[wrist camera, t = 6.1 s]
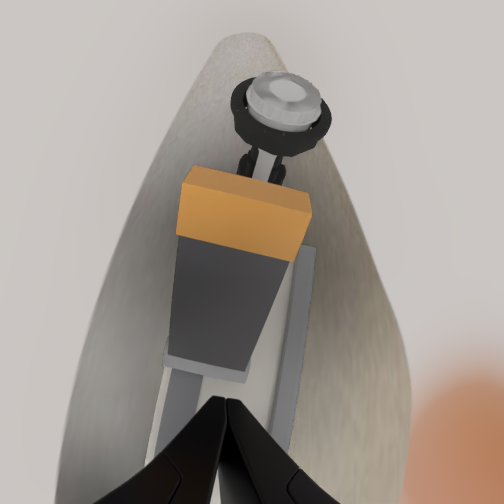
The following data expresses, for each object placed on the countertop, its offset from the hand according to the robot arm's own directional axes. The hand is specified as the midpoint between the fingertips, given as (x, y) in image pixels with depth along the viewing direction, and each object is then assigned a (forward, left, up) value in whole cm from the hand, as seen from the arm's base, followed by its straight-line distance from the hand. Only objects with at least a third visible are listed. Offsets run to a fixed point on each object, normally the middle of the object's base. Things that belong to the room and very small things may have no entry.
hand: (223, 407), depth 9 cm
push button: (+9, +12, -10) cm, 18 cm away
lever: (+1, +2, -6) cm, 7 cm away
